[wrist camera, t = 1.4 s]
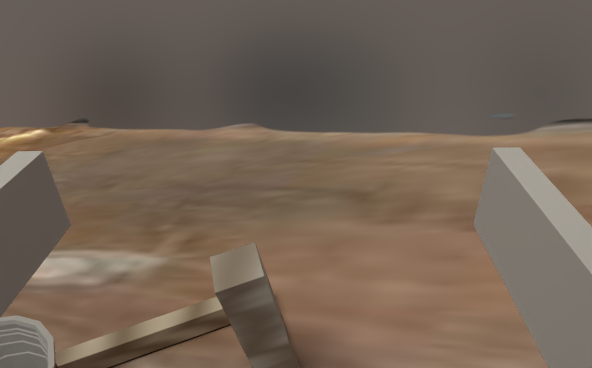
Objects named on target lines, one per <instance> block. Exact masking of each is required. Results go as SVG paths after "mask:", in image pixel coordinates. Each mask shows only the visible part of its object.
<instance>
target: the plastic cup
mask: <svg viewBox="0 0 592 368" xmlns="http://www.w3.org/2000/svg"><path fill="white" fill-rule="evenodd" d="M0 368H58V366H57V364H56V362H55V347H54V339H53V337H52V336H51V334H50V333H49V332H48V331H47V330H46V328H45V327H44V326H43V325H42V323H41V322H40V321H36V320H33V319H29V318H25V317H22V316H18V315H16V316H9V317H2V318H0Z"/></svg>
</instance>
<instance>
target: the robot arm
mask: <svg viewBox="0 0 592 368" xmlns="http://www.w3.org/2000/svg"><path fill="white" fill-rule="evenodd" d="M473 225H474V227H475V229H476V231H477V233H478V235H479V236H480V238H481V240H482V242H483V244H484V246H485V248H486V250H487V252H488V253H489V255H490V257H491V259H492V261H493V263H494V265H495V267H496V269H497V271H498V272H499V274H500V276H501V278H502V280H503V282H504V284H505V286H506V288H507V289H508V291H509V293H510V295H511V297H512V299H513V301H514V303H515V305H516V307H517V308H518V310H519V312H520V314H521V316H522V318H523V320H524V322H525V324H526V325H527V327H528V329H529V331H530V333H531V335H532V337H533V339H534V341H535V343H536V344H537V346H538V348H539V350H540V352H541V354H542V356H543V358H544V360H545V362H546V363H547V365H548V367H549V368H592V227H591V226H590V225H589V224H588V222H587V221H586V220H585V219H584V218H583V217H582V216H581V215H580V214H579V213H578V211H577V210H576V209H575V208H574V207H573V206H572V205H571V204H570V203H569V201H568V200H567V199H566V198H565V197H564V196H563V195H562V194H561V193H560V191H559V190H558V189H557V188H556V187H555V186H554V185H553V184H552V183H551V182H550V180H549V179H548V178H547V177H546V176H545V175H544V174H543V173H542V172H541V170H540V169H539V168H538V167H537V166H536V165H535V164H534V163H533V162H532V160H531V159H530V158H529V157H528V156H527V155H526V154H525V153H524V152H523V151H522V149H521V148H492V152H491V156H490V160H489V164H488V168H487V172H486V176H485V180H484V184H483V188H482V192H481V196H480V200H479V204H478V208H477V212H476V216H475V220H474V224H473ZM70 226H71V223H70V220H69V218H68V215H67V213H66V210H65V207H64V205H63V202H62V200H61V197H60V194H59V192H58V189H57V187H56V184H55V182H54V179H53V176H52V174H51V171H50V169H49V166H48V163H47V161H46V158H45V156H44V153H43V151H20V152H16V153H15V154H14V155H13V156H11V157H10V158H9V159H8V160H7V161H5V162H4V163H3V164H2V165H0V317H1V316H2V314H3V313H4V312H5V310H6V309H7V308H8V307H9V305H10V304H11V303H12V301H13V300H14V299H15V298H16V296H17V295H18V294H19V292H20V291H21V290H22V288H23V287H24V286H25V285H26V283H27V282H28V281H29V279H30V278H31V277H32V275H33V274H34V273H35V272H36V270H37V269H38V268H39V266H40V265H41V264H42V262H43V261H44V260H45V259H46V257H47V256H48V255H49V253H50V252H51V251H52V249H53V248H54V247H55V246H56V244H57V243H58V242H59V240H60V239H61V238H62V237H63V235H64V234H65V233H66V231H67V230H68V229H69V227H70Z"/></svg>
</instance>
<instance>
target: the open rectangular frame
mask: <svg viewBox="0 0 592 368" xmlns="http://www.w3.org/2000/svg"><path fill="white" fill-rule="evenodd" d="M210 261H211V268H212V275H213V282H214V289H215V294H216V296H217V297H214V298H211V299H208V300H206V301H203V302H200V303H197V304H194V305H191V306H188V307H185V308H182V309H180V310H177V311H174V312H171V313H168V314H165V315H162V316H159V317H156V318H154V319H151V320H148V321H145V322H142V323H139V324H136V325H133V326H131V327H128V328H125V329H122V330H119V331H116V332H113V333H110V334H107V335H105V336H102V337H99V338H96V339H93V340H90V341H87V342H84V343H81V344H79V345H76V346H73V347H70V348H67V349H64V350H61V351H58V352H56V353H55V362H56V364H57V366H58V368H108V367H111V366H113V365H116V364H119V363H122V362H125V361H127V360H130V359H133V358H136V357H139V356H142V355H144V354H147V353H150V352H153V351H156V350H159V349H161V348H164V347H167V346H170V345H173V344H176V343H178V342H181V341H184V340H187V339H190V338H192V337H195V336H198V335H201V334H204V333H207V332H209V331H212V330H215V329H218V328H221V327H224V326H226V325H229V324H231V326H232V328H233V330H234V332H235V334H236V336H237V338H238V340H239V342H240V344H241V346H242V348H243V350H244V352H245V354H246V356H247V358H248V360H249V362H250V364H251V366H252V368H300V366H299V362H298V359H297V356H296V353H295V350H294V348H293V345H292V342H291V339H290V337H289V334H288V331H287V328H286V326H285V323H284V320H283V317H282V315H281V312H280V309H279V307H278V304H277V301H276V298H275V296H274V293H273V290H272V287H271V285H270V282H269V279H268V276H267V274H266V271H265V268H264V265H263V263H262V260H261V257H260V255H259V252H258V249H257V246H256V244H255V242H254V243H251V244H248V245H245V246H242V247H239V248H236V249H233V250H230V251H227V252H224V253H221V254H218V255H215V256H212V257H210Z"/></svg>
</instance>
